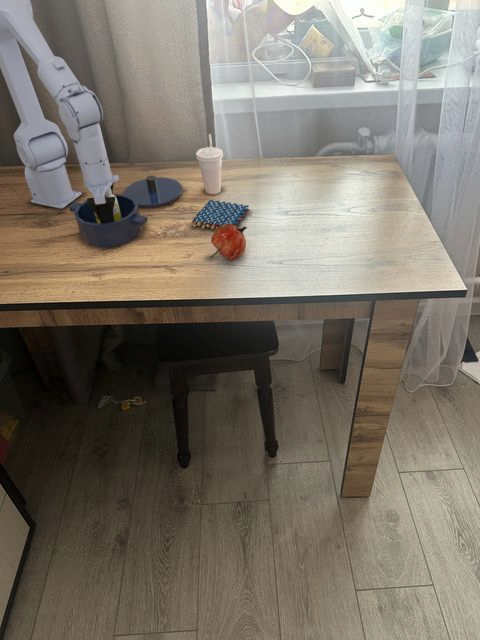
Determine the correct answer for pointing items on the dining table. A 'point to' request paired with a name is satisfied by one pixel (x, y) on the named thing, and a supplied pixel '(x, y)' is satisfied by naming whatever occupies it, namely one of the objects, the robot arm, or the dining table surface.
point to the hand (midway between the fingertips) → (108, 218)
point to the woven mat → (220, 214)
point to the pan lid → (154, 191)
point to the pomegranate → (229, 241)
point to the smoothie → (210, 167)
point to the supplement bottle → (115, 210)
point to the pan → (111, 231)
